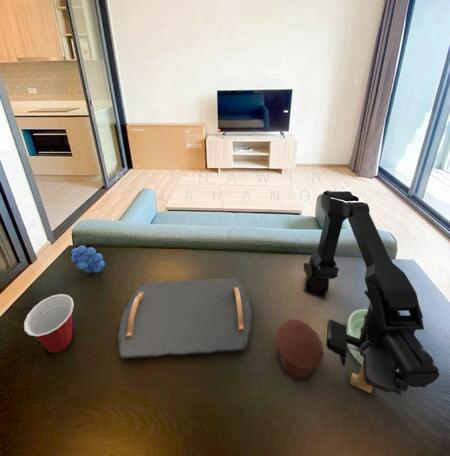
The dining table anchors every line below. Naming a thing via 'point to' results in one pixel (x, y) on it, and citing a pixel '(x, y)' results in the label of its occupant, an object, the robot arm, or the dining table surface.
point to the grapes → (87, 259)
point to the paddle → (360, 381)
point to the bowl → (356, 329)
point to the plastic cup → (51, 322)
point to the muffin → (299, 348)
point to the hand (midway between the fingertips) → (364, 372)
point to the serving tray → (185, 319)
